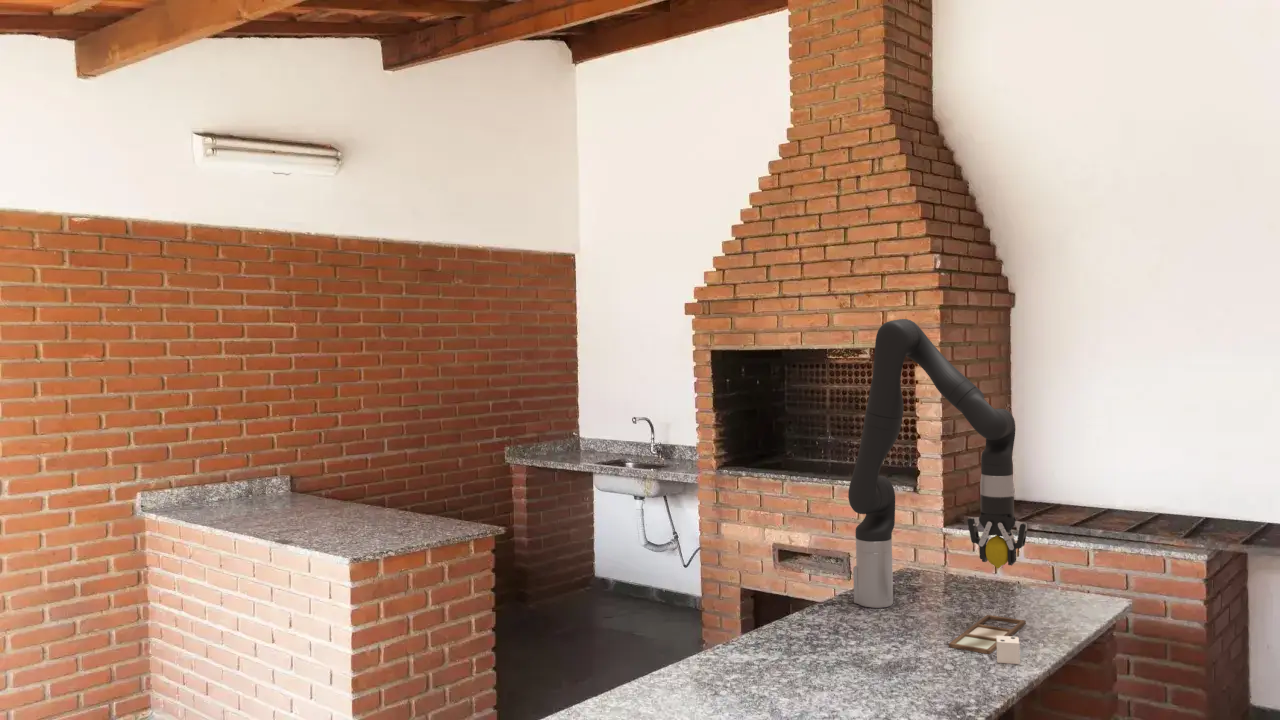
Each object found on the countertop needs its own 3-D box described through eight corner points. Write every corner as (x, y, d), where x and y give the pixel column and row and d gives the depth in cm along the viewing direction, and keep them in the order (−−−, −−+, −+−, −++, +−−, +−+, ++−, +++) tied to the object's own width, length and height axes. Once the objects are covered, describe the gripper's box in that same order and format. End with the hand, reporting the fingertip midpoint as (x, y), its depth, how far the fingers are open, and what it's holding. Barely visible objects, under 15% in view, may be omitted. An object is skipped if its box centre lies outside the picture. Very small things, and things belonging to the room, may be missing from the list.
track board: (948, 647, 224) (948, 643, 224) (987, 617, 244) (987, 614, 244) (989, 654, 218) (989, 650, 218) (1025, 623, 239) (1025, 620, 239)
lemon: (1006, 565, 240) (1006, 532, 239) (1013, 571, 234) (1012, 537, 234) (983, 565, 240) (982, 532, 240) (988, 571, 235) (988, 537, 234)
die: (997, 662, 213) (997, 641, 213) (996, 655, 217) (996, 635, 217) (1019, 664, 211) (1019, 643, 211) (1018, 657, 216) (1018, 636, 216)
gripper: (961, 492, 238) (962, 562, 238) (1023, 498, 229) (1024, 570, 230) (972, 488, 244) (973, 556, 244) (1032, 493, 235) (1033, 563, 236)
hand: (997, 562), depth 237 cm, fingers closed on lemon, 5 cm apart
